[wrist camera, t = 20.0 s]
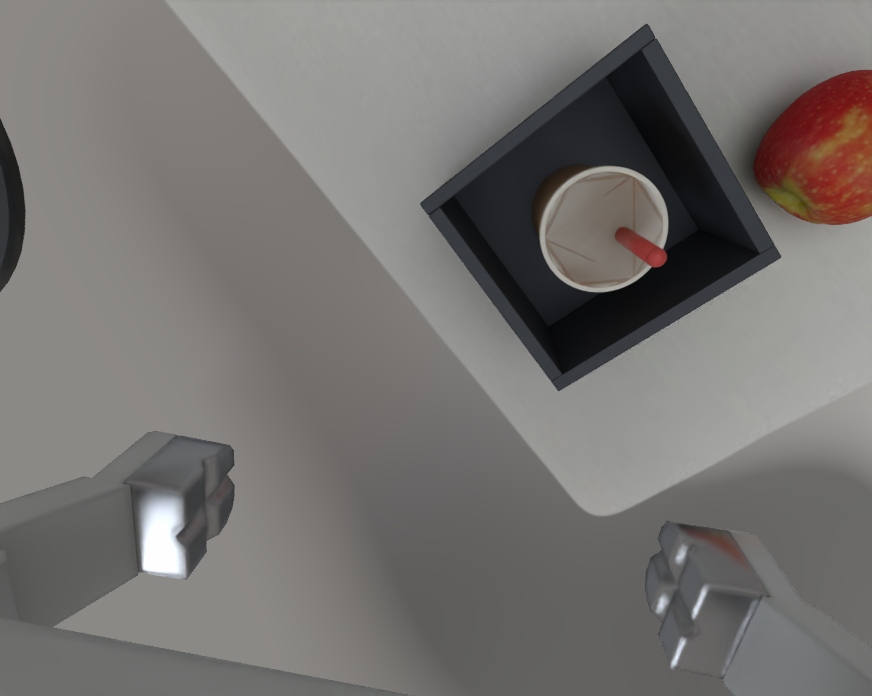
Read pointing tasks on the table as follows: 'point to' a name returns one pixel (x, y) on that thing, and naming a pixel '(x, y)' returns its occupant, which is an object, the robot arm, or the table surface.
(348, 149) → the table surface
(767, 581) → the robot arm
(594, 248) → the paper cup
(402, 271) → the table surface
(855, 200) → the apple
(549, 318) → the bin
